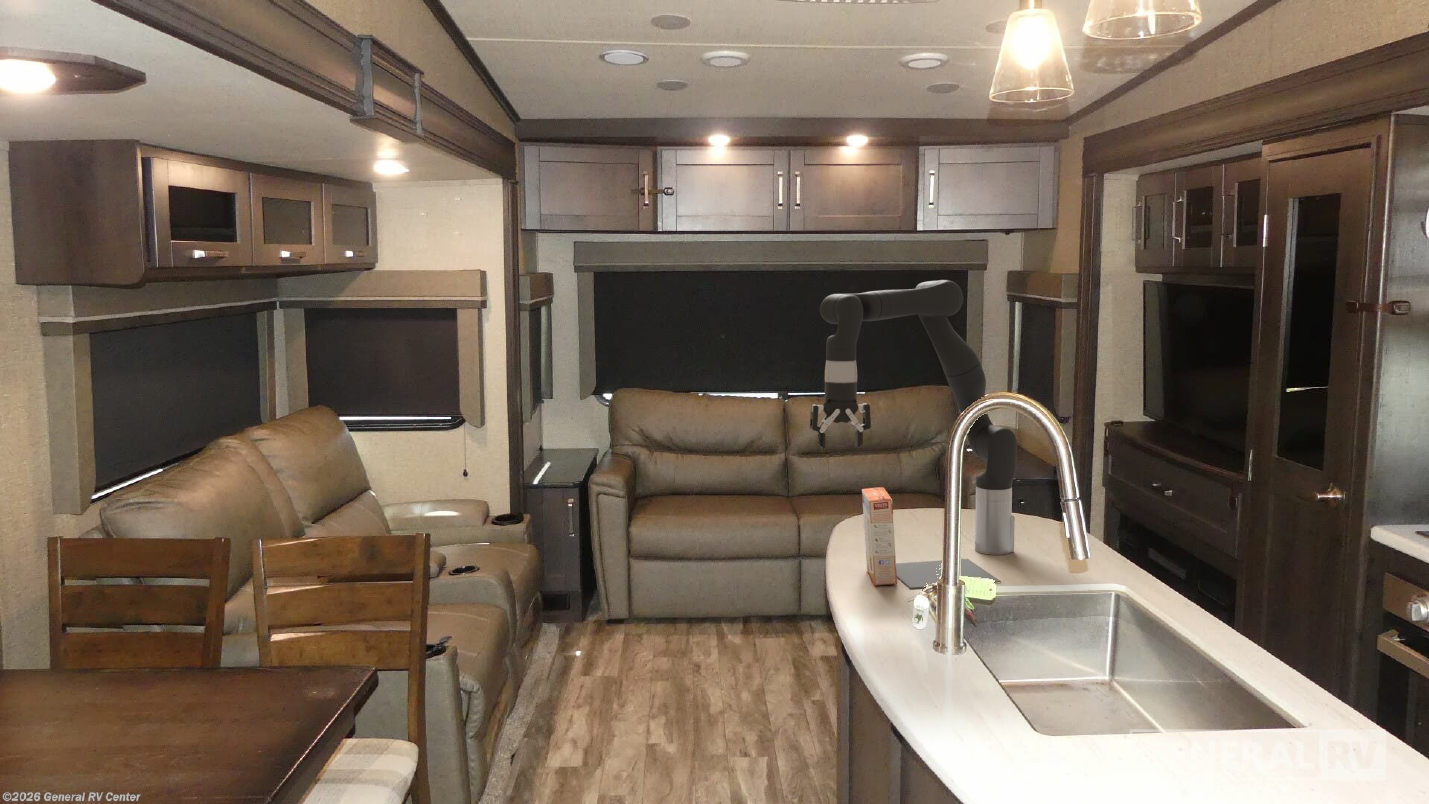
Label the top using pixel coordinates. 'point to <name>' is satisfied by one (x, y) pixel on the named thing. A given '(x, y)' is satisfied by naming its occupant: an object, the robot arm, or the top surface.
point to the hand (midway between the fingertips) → (840, 447)
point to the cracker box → (879, 536)
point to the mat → (934, 572)
